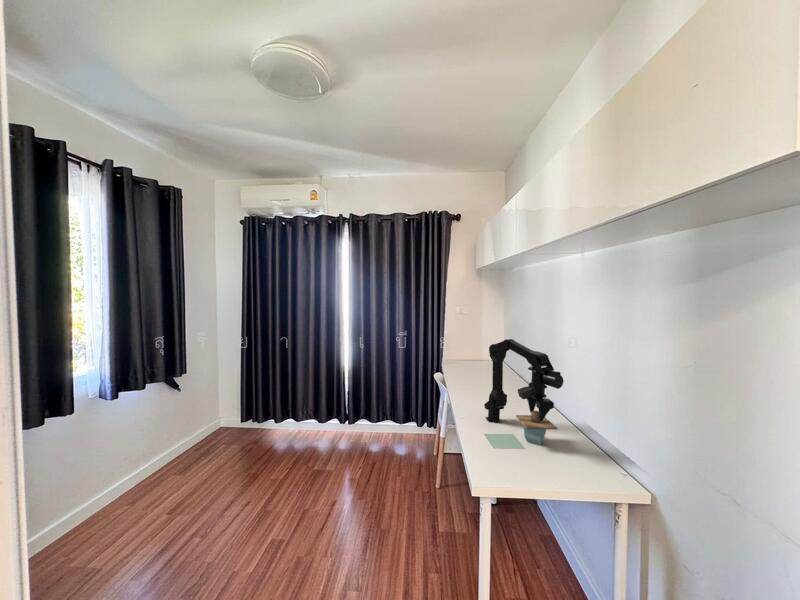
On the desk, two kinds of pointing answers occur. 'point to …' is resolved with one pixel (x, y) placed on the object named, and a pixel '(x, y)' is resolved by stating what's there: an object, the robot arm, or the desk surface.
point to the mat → (504, 441)
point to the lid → (535, 421)
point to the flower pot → (534, 435)
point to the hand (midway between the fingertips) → (536, 416)
